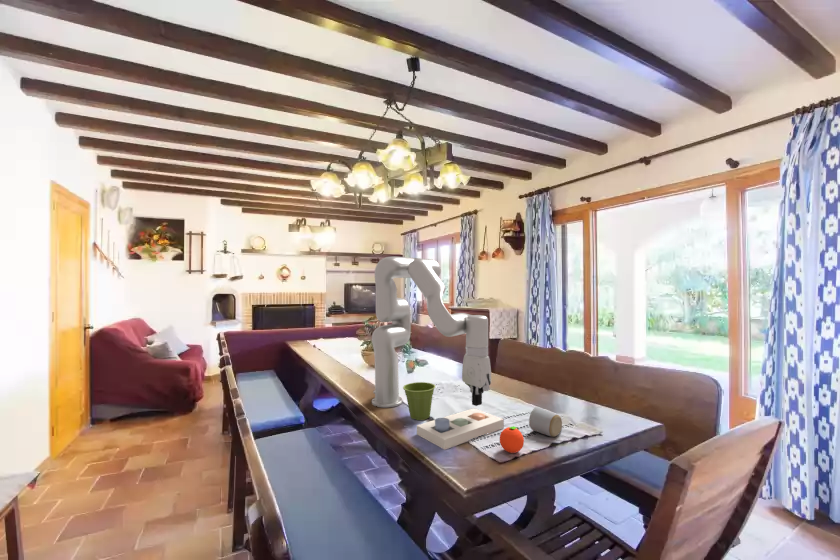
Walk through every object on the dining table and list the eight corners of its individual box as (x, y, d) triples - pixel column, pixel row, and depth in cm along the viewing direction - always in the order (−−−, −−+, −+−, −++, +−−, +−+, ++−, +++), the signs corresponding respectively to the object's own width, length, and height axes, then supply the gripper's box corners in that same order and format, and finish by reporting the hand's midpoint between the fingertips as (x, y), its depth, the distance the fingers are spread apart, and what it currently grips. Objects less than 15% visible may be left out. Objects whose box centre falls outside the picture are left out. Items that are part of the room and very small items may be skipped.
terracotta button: (468, 424, 132) (468, 414, 132) (478, 421, 135) (478, 411, 135) (478, 428, 128) (478, 418, 128) (487, 424, 131) (487, 415, 131)
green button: (451, 429, 127) (451, 420, 127) (461, 426, 130) (461, 417, 130) (460, 434, 124) (460, 424, 124) (470, 430, 126) (470, 421, 126)
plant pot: (423, 409, 149) (423, 380, 149) (442, 418, 139) (441, 387, 139) (397, 415, 142) (397, 385, 142) (415, 425, 132) (414, 393, 132)
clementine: (508, 443, 117) (507, 420, 117) (529, 449, 113) (529, 425, 113) (495, 452, 111) (494, 428, 111) (517, 459, 107) (517, 434, 107)
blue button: (432, 429, 123) (432, 419, 123) (443, 426, 125) (443, 416, 125) (441, 434, 119) (441, 424, 119) (452, 430, 122) (452, 420, 122)
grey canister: (551, 440, 119) (551, 415, 119) (528, 432, 125) (528, 409, 125) (568, 432, 125) (568, 408, 125) (546, 424, 132) (546, 402, 132)
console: (416, 434, 125) (416, 425, 125) (474, 416, 140) (474, 408, 140) (444, 449, 114) (444, 439, 114) (503, 428, 129) (503, 419, 129)
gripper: (454, 349, 135) (454, 400, 136) (485, 356, 123) (485, 413, 124) (469, 346, 140) (469, 396, 140) (501, 353, 128) (500, 408, 128)
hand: (476, 404), depth 132 cm, fingers closed
